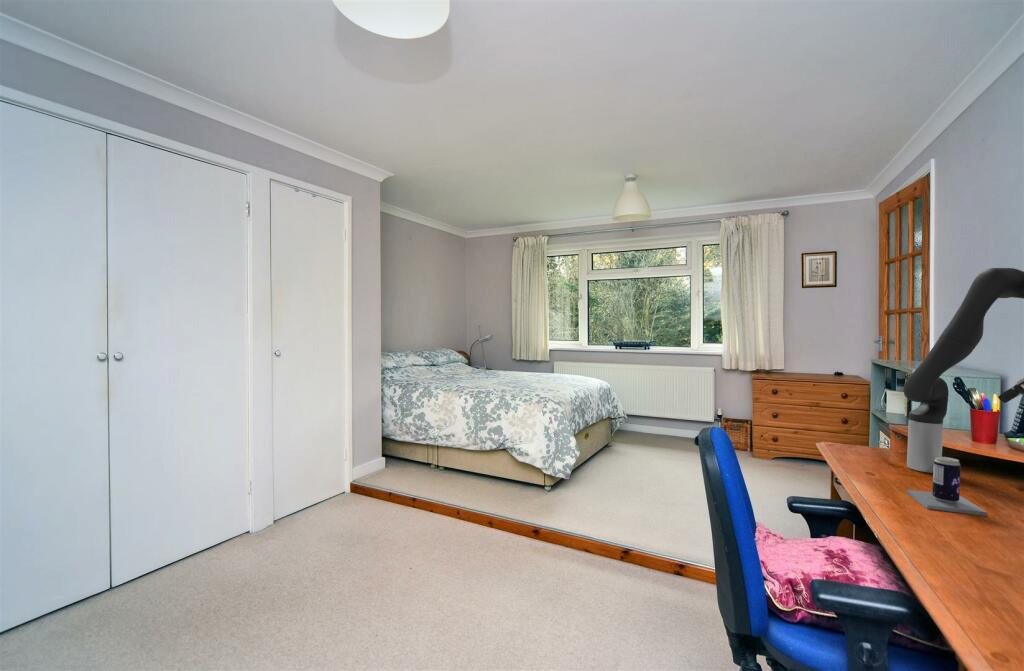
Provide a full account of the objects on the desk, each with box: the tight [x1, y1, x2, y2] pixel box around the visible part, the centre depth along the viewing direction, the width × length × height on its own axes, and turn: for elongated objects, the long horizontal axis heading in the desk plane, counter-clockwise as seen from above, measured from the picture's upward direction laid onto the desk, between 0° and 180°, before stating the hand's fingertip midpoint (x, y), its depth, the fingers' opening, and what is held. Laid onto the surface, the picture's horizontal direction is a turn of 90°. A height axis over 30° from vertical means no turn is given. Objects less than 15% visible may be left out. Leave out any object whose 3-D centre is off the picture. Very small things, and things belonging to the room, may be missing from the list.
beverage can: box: [931, 456, 962, 503], centre depth 135 cm, size 6×6×12 cm
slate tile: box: [906, 489, 988, 517], centre depth 135 cm, size 13×13×1 cm
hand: (1002, 398), depth 133 cm, fingers open, 8 cm apart
